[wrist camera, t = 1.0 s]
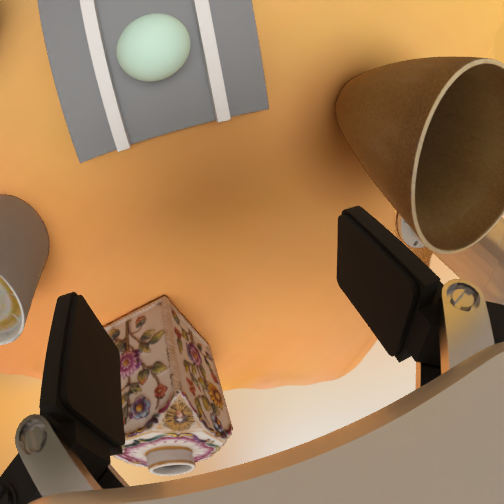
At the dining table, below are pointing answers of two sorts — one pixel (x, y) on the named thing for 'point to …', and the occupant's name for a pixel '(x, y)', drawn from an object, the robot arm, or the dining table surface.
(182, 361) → the decorative jar
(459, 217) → the plant pot
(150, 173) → the dining table surface
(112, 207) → the dining table surface
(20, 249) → the coffee mug
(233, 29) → the board
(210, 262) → the dining table surface
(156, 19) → the ball
